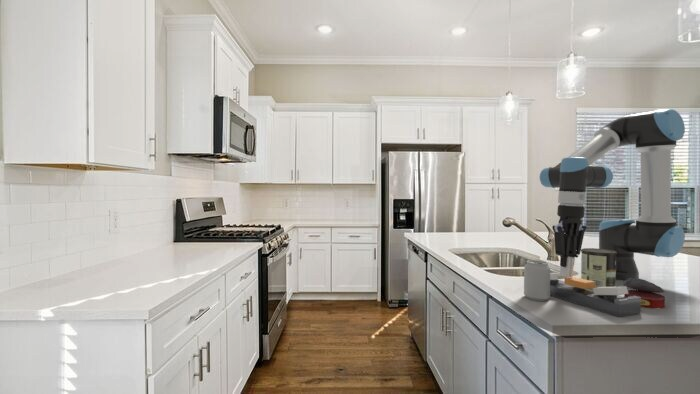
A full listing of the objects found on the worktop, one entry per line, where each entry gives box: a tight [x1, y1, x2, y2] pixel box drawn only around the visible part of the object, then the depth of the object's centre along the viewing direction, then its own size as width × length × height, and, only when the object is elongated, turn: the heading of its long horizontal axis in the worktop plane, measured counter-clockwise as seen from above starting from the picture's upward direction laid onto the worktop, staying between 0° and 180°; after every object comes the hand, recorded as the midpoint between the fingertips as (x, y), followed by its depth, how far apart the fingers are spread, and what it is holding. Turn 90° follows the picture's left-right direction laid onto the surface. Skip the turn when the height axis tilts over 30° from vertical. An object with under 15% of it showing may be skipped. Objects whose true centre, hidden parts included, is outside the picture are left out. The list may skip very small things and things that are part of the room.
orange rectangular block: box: [564, 276, 595, 289], centre depth 116 cm, size 7×4×2 cm, turn 22°
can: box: [523, 259, 551, 302], centre depth 117 cm, size 8×8×12 cm
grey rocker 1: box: [550, 272, 567, 280], centre depth 124 cm, size 7×4×2 cm, turn 22°
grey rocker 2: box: [593, 286, 629, 296], centre depth 107 cm, size 7×4×2 cm, turn 22°
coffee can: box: [580, 247, 617, 289], centre depth 127 cm, size 10×10×14 cm
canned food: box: [623, 277, 666, 309], centre depth 113 cm, size 11×10×10 cm
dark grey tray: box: [550, 279, 642, 318], centre depth 116 cm, size 30×9×5 cm, turn 22°
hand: (566, 276), depth 119 cm, fingers closed
